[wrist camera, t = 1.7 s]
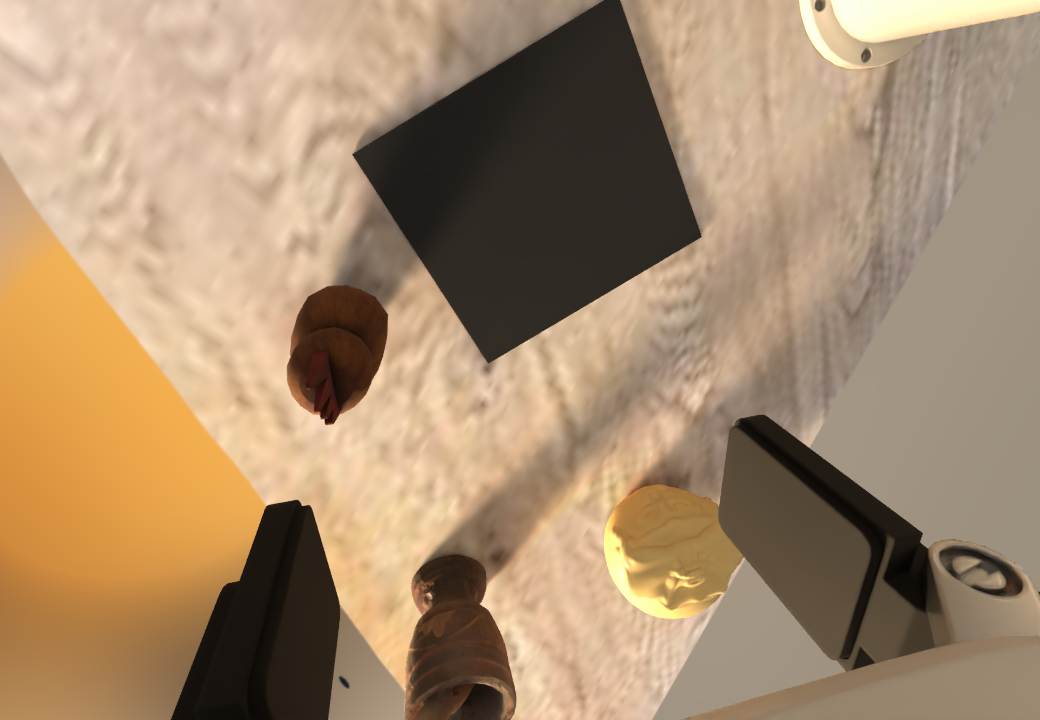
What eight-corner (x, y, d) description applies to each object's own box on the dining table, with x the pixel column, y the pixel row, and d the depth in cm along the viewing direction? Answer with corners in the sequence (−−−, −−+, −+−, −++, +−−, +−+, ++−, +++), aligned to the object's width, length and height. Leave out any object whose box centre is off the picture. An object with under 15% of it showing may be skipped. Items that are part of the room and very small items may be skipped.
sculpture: (692, 452, 50) (762, 528, 40) (698, 539, 55) (761, 624, 45) (583, 486, 49) (628, 573, 39) (599, 572, 54) (643, 667, 44)
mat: (616, -7, 32) (617, -8, 32) (700, 236, 41) (701, 236, 40) (352, 154, 33) (352, 154, 33) (487, 362, 41) (488, 363, 41)
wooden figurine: (314, 264, 35) (261, 343, 22) (396, 286, 37) (394, 372, 24) (297, 350, 37) (238, 471, 24) (375, 367, 39) (362, 488, 26)
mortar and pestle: (360, 601, 48) (336, 873, 31) (390, 533, 46) (383, 785, 28) (471, 616, 52) (506, 865, 35) (504, 554, 50) (561, 787, 32)
